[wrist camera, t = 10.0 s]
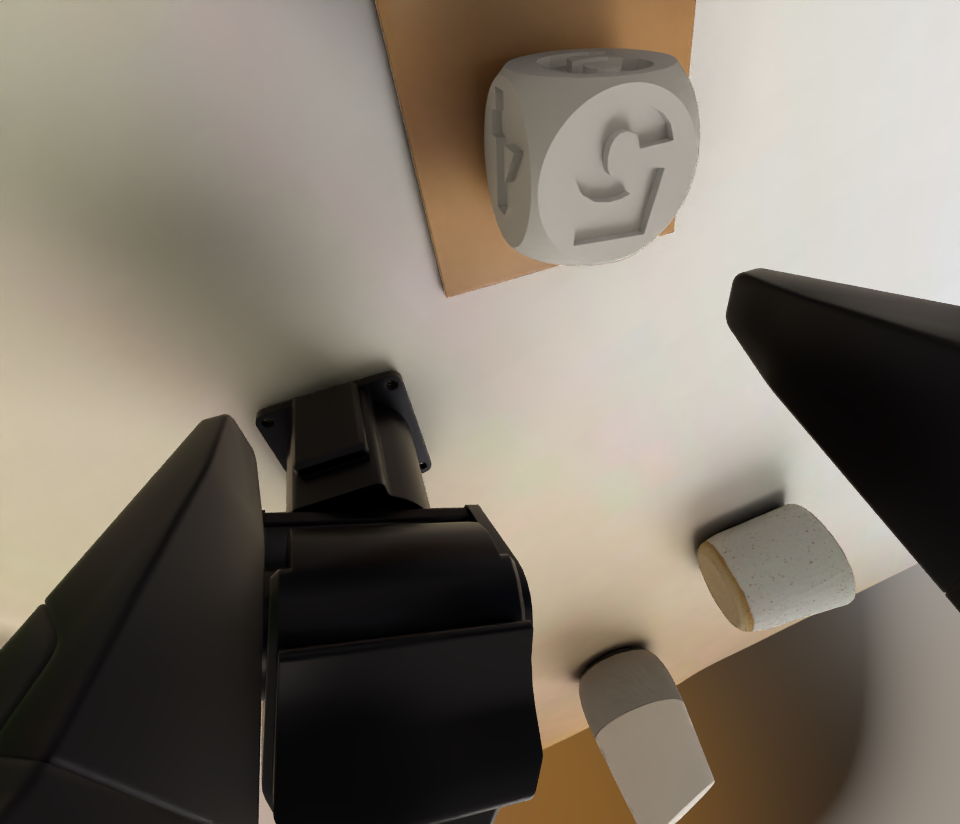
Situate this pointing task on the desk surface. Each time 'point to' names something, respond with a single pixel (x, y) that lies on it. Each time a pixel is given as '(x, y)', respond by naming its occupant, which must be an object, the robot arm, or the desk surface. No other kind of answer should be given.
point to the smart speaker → (645, 735)
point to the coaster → (463, 95)
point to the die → (589, 151)
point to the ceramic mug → (776, 569)
